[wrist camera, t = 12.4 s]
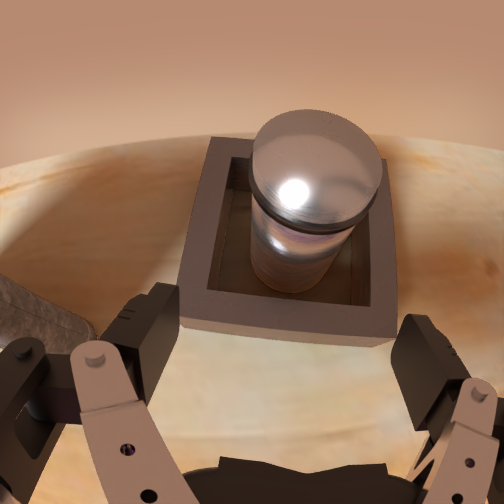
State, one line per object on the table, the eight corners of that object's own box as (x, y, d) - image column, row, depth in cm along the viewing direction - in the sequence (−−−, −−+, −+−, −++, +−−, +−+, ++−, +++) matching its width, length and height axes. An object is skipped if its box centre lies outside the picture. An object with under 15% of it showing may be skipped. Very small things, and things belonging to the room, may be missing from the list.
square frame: (369, 189, 22) (385, 159, 19) (372, 347, 18) (396, 338, 14) (215, 170, 22) (211, 136, 19) (184, 327, 18) (170, 315, 15)
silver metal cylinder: (331, 223, 21) (378, 119, 12) (328, 299, 19) (392, 224, 10) (253, 214, 21) (257, 100, 12) (242, 290, 19) (239, 204, 10)
